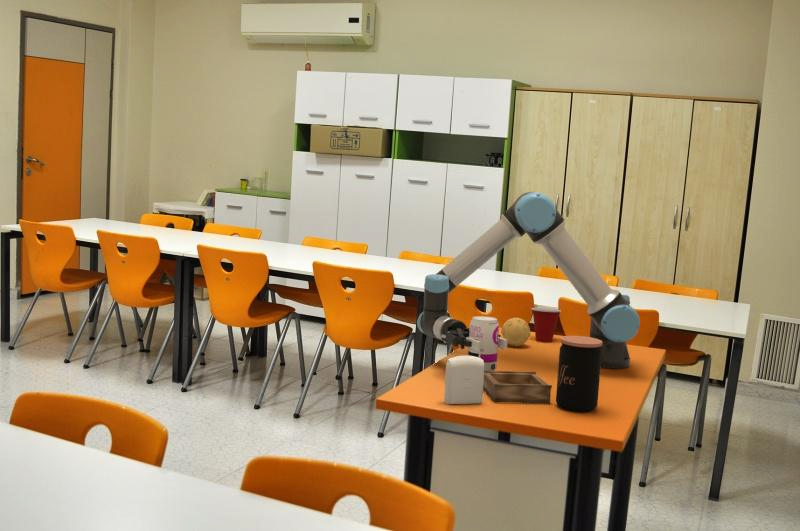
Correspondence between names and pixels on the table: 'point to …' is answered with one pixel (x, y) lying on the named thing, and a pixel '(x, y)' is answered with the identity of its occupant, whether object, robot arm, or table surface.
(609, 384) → the table surface
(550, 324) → the plastic cup
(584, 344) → the coffee jar
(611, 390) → the table surface
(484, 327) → the supplement can
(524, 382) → the crate
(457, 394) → the white rounded block
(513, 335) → the stress ball
